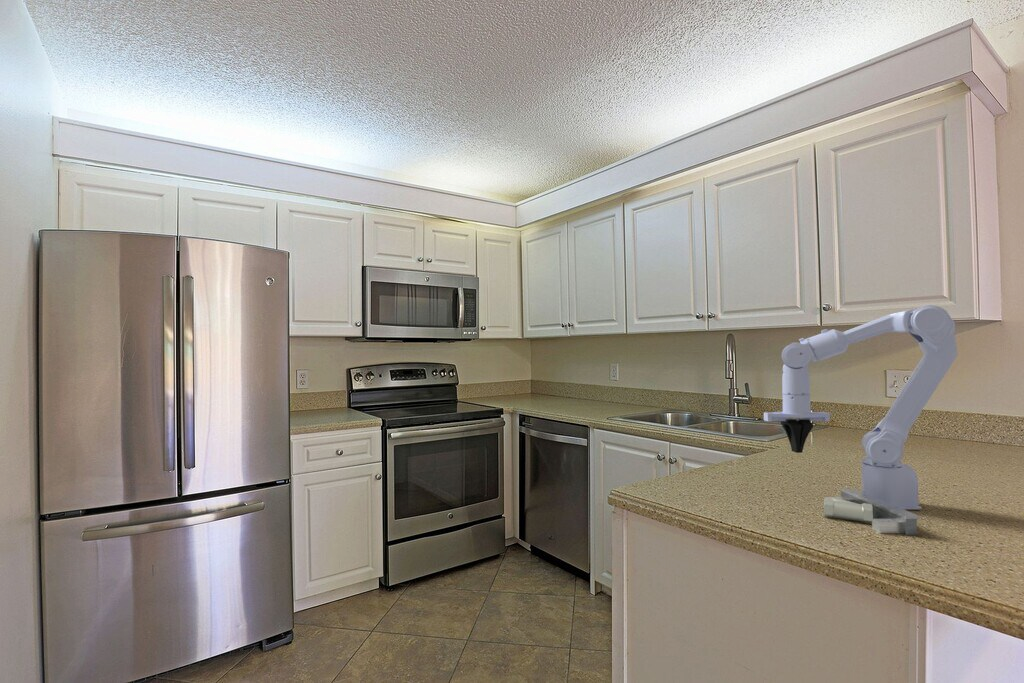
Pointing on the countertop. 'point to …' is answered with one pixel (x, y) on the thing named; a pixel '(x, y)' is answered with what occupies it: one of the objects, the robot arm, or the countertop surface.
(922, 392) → the robot arm
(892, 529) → the grey bracket
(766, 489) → the countertop surface
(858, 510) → the pipe fitting
